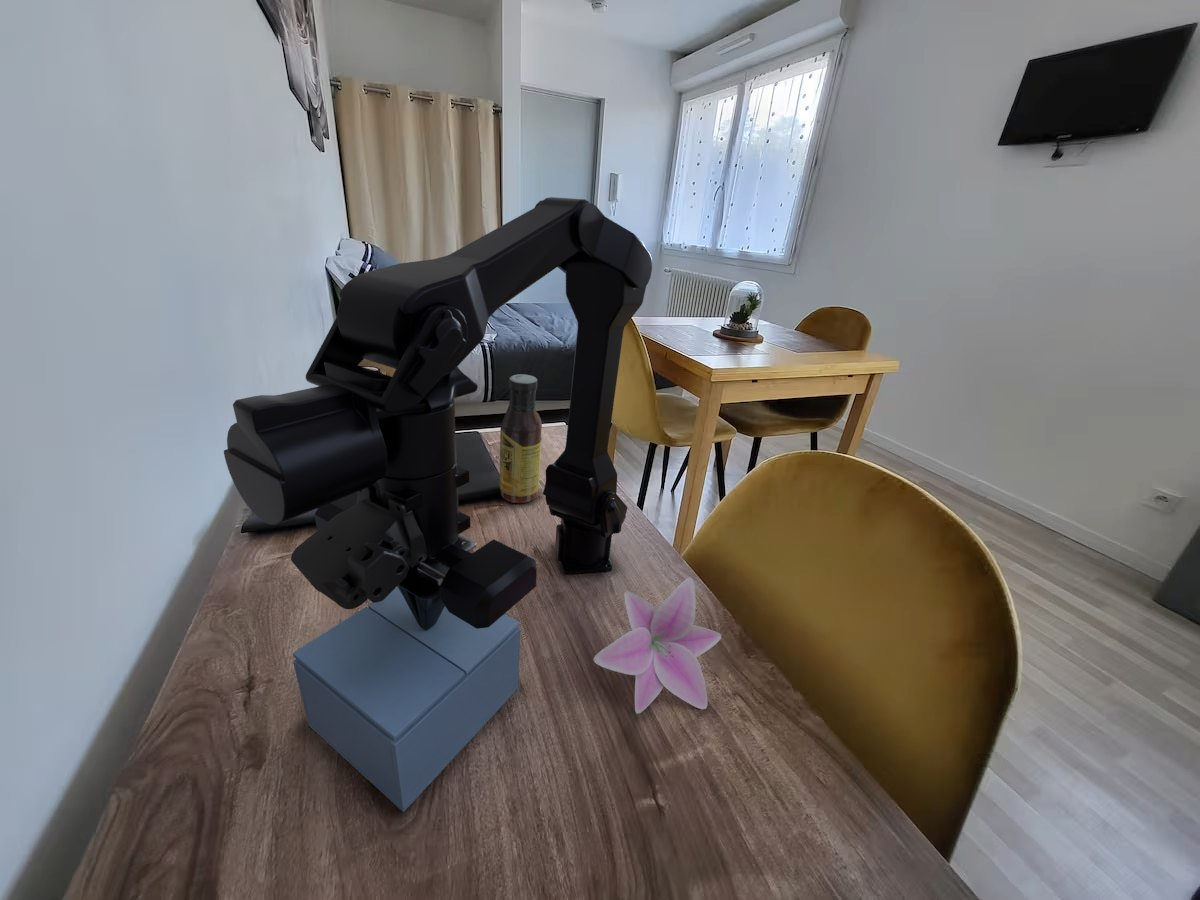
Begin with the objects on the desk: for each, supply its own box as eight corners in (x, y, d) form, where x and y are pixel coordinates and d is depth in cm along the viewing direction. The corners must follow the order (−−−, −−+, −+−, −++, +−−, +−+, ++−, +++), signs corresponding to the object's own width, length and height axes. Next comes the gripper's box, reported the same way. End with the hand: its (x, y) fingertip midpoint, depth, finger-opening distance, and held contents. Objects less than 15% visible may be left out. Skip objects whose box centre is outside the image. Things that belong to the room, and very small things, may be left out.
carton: (430, 631, 51) (425, 568, 48) (518, 688, 46) (520, 621, 42) (307, 725, 41) (290, 653, 37) (403, 812, 36) (393, 738, 32)
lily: (569, 695, 47) (598, 672, 40) (605, 587, 55) (634, 552, 47) (681, 744, 47) (730, 730, 40) (701, 630, 55) (745, 601, 48)
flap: (425, 571, 48) (425, 568, 48) (519, 625, 43) (519, 622, 42) (368, 609, 43) (367, 605, 43) (466, 674, 38) (466, 671, 37)
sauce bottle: (497, 487, 80) (497, 370, 72) (534, 485, 82) (539, 370, 74) (502, 508, 74) (503, 383, 66) (542, 505, 76) (548, 383, 68)
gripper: (221, 460, 32) (266, 634, 39) (410, 569, 24) (428, 767, 31) (370, 417, 41) (387, 565, 48) (545, 486, 33) (537, 653, 40)
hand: (427, 625), depth 41 cm, fingers closed, pressing on flap
